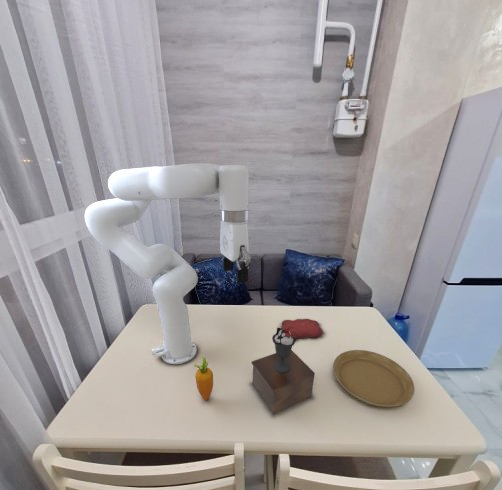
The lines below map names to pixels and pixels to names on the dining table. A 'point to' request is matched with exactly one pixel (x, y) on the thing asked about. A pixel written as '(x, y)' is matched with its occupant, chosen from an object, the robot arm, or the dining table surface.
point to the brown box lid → (282, 379)
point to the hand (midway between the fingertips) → (235, 275)
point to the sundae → (283, 348)
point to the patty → (303, 328)
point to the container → (283, 393)
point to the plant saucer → (373, 378)
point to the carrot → (204, 380)
